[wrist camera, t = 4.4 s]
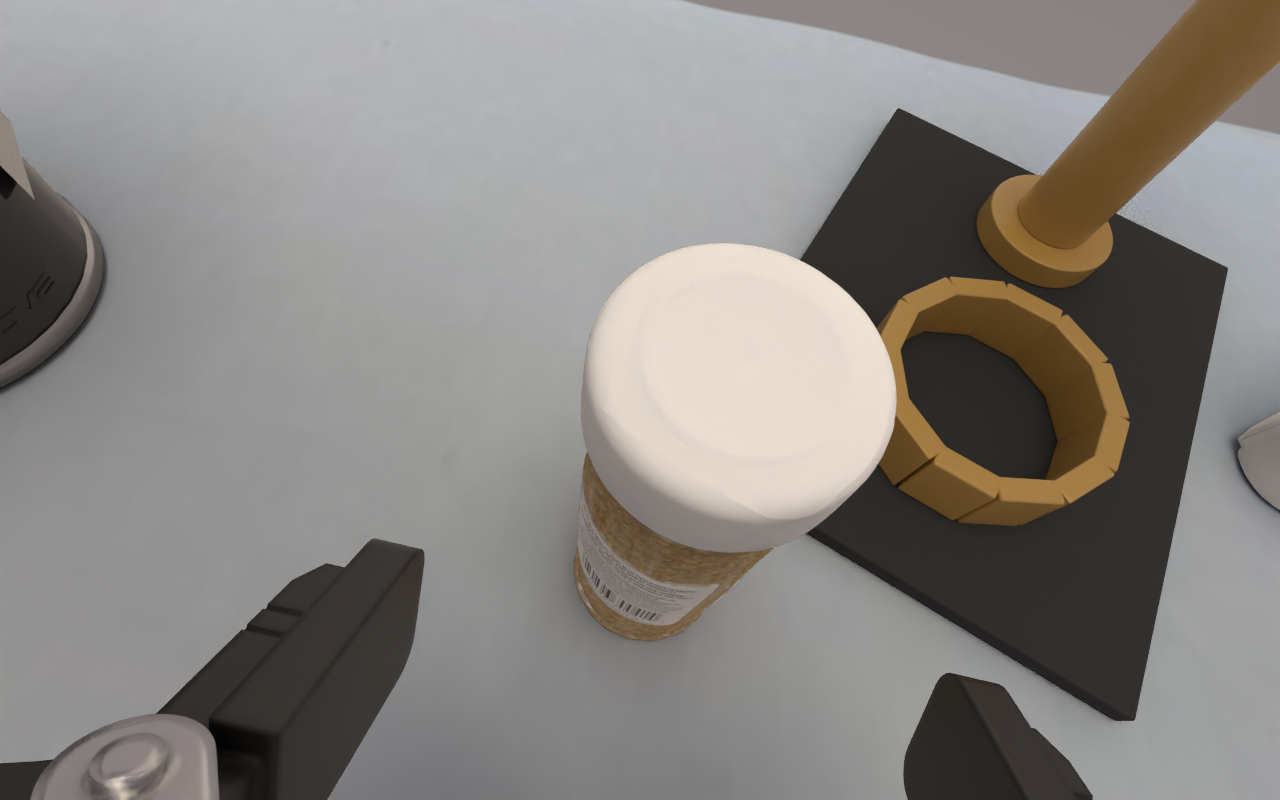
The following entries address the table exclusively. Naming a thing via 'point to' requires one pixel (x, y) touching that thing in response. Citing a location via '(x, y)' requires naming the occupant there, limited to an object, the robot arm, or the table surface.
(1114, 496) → the drip mat
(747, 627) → the table surface
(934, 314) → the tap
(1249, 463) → the photo printer
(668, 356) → the sprinkles bottle
